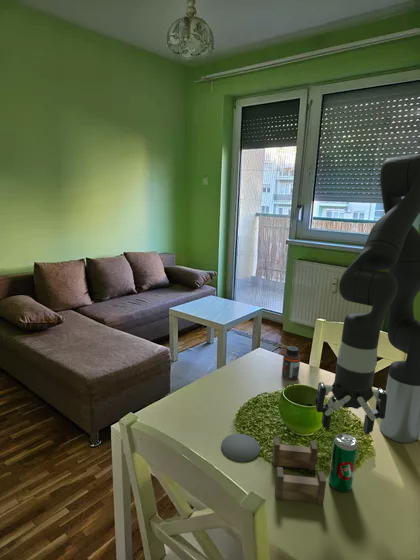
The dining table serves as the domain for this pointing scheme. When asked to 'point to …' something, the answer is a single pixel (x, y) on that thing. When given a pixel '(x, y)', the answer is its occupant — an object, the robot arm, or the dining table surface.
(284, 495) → the channel
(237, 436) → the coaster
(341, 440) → the soda can
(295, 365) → the supplement bottle
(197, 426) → the dining table surface
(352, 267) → the robot arm
